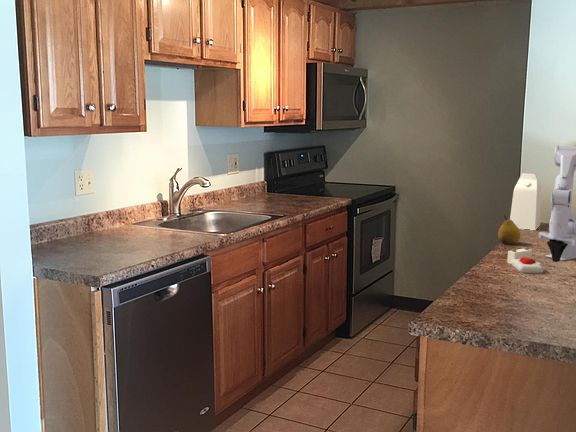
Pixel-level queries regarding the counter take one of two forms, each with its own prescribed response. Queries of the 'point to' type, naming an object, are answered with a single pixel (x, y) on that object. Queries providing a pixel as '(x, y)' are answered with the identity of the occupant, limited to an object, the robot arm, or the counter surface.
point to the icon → (527, 265)
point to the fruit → (508, 232)
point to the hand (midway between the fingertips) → (555, 261)
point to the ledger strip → (519, 254)
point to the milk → (526, 202)
